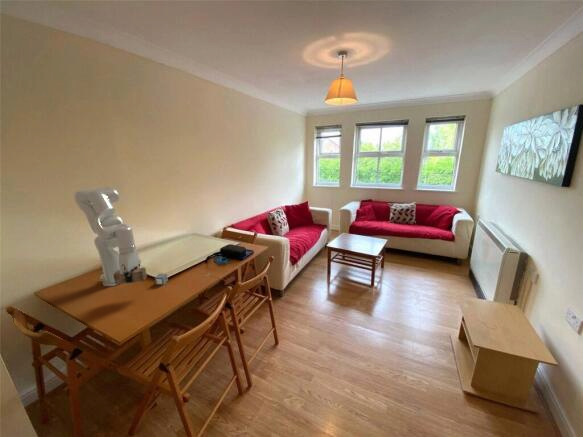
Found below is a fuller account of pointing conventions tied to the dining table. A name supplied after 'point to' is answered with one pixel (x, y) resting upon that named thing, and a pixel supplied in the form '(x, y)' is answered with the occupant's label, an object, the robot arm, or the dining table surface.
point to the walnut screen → (136, 275)
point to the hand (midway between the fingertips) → (133, 278)
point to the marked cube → (161, 279)
